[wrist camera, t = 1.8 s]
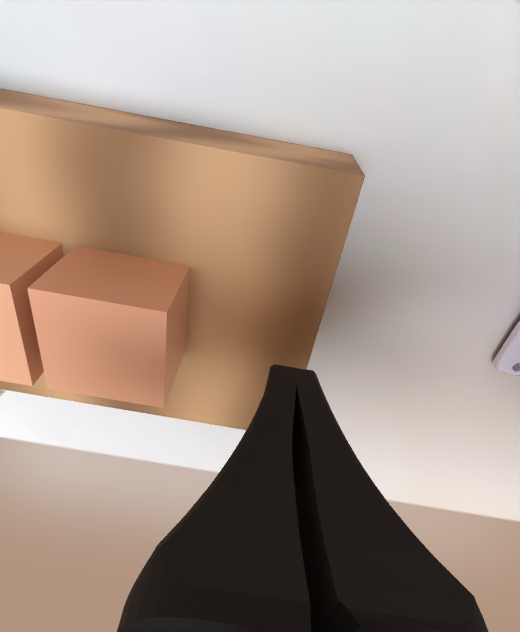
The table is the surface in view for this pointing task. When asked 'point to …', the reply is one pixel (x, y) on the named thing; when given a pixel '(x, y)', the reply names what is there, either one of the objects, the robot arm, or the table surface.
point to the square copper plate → (188, 233)
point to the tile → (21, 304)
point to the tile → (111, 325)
